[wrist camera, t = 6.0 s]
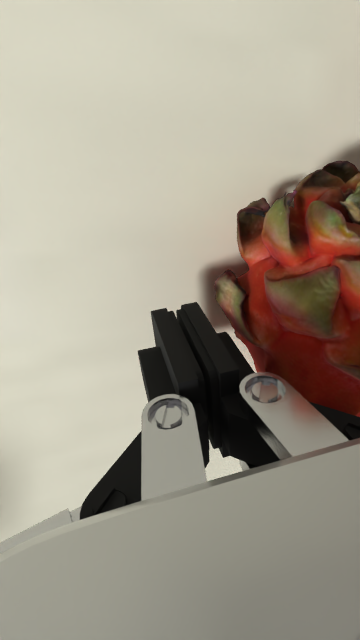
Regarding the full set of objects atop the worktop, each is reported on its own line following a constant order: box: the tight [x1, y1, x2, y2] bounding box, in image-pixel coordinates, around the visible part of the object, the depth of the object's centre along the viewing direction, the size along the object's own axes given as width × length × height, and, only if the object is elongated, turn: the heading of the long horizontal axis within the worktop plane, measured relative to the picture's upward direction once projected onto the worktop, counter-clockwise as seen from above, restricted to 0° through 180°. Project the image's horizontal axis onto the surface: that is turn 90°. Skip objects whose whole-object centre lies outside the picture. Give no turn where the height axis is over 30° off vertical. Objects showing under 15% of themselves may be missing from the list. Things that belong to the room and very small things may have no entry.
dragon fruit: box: [214, 161, 360, 417], centre depth 12 cm, size 8×8×12 cm
